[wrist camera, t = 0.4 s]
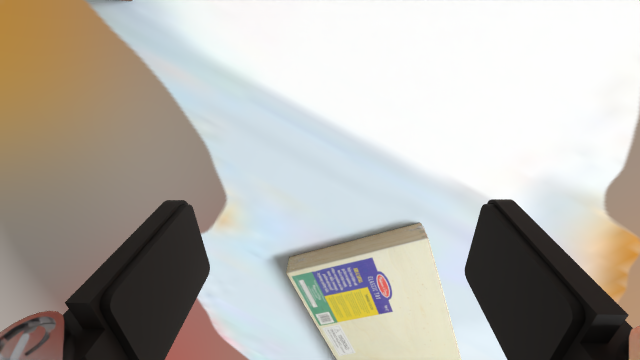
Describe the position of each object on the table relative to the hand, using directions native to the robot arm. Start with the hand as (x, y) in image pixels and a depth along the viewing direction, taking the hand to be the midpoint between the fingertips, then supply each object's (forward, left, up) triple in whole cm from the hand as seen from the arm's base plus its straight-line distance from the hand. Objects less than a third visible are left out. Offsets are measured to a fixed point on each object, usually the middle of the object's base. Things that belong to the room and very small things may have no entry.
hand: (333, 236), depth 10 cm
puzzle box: (+42, +12, -31) cm, 53 cm away
